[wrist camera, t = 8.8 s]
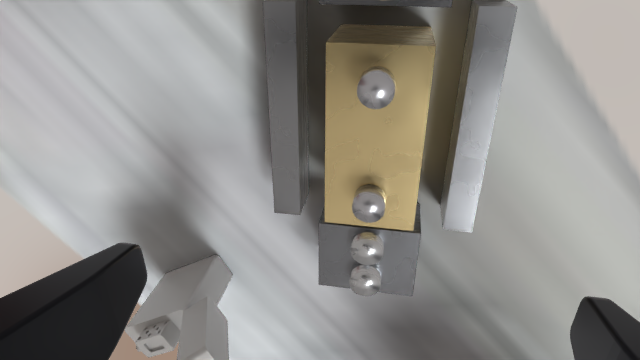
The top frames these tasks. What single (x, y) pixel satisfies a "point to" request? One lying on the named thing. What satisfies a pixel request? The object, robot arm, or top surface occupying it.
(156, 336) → the grey angular piece
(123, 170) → the top surface
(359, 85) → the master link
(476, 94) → the studded rectangular link
